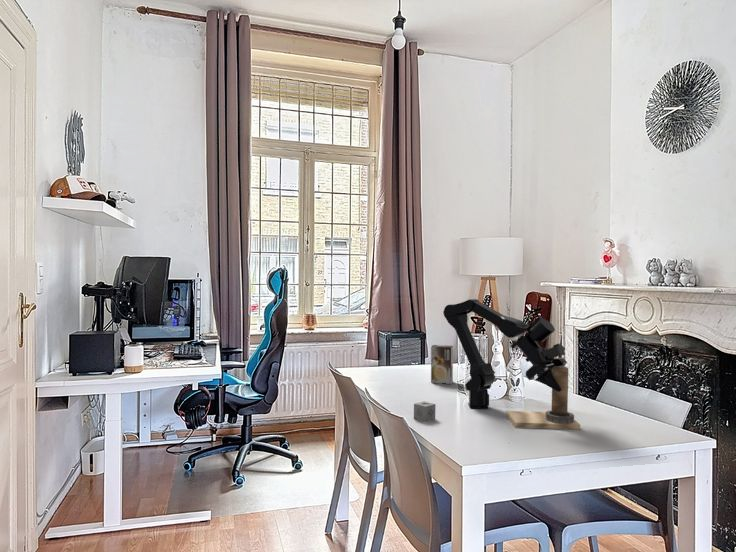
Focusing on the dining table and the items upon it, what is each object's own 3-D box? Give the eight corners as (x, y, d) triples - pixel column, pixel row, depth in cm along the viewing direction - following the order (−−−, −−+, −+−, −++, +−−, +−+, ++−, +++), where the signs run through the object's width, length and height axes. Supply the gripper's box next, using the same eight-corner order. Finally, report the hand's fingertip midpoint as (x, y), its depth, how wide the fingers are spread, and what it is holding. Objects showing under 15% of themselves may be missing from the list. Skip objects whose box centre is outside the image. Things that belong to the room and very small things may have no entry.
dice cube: (435, 419, 173) (435, 404, 173) (425, 422, 170) (425, 406, 169) (423, 416, 177) (423, 401, 177) (413, 418, 173) (413, 403, 173)
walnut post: (549, 411, 168) (550, 367, 167) (553, 408, 172) (554, 365, 171) (565, 414, 165) (566, 369, 165) (569, 410, 169) (570, 367, 169)
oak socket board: (514, 427, 165) (515, 416, 165) (506, 415, 179) (506, 404, 179) (580, 429, 163) (580, 418, 163) (566, 417, 177) (566, 406, 177)
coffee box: (453, 381, 233) (453, 345, 233) (451, 384, 227) (451, 347, 227) (432, 380, 236) (433, 344, 236) (430, 382, 230) (430, 346, 229)
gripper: (535, 338, 164) (569, 378, 156) (561, 333, 177) (594, 371, 170) (512, 359, 170) (543, 400, 162) (539, 353, 183) (569, 391, 175)
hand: (563, 389), depth 167 cm, fingers closed on walnut post, 5 cm apart
